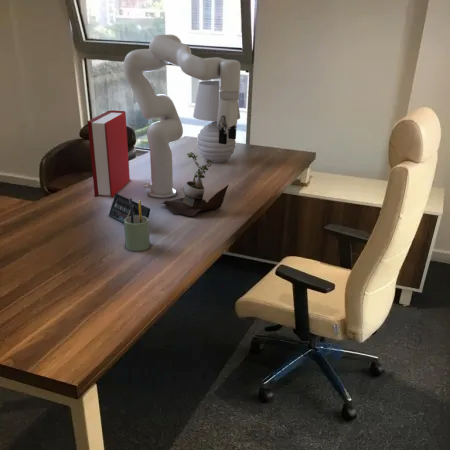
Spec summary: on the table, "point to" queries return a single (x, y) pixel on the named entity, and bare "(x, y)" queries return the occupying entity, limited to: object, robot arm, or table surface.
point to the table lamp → (210, 133)
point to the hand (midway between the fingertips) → (227, 141)
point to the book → (109, 152)
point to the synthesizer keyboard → (126, 208)
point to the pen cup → (136, 230)
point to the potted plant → (195, 195)
